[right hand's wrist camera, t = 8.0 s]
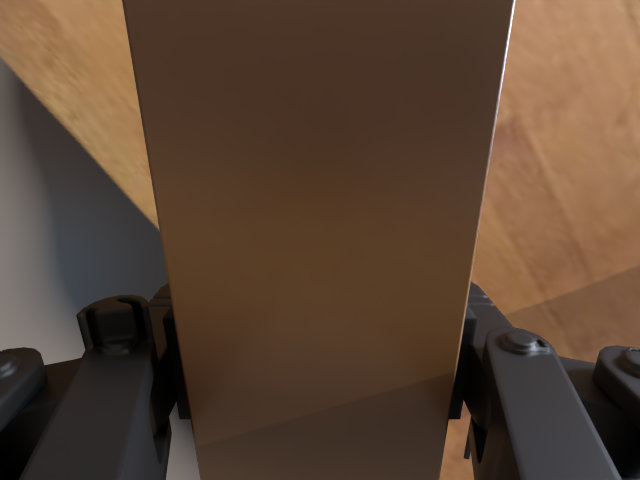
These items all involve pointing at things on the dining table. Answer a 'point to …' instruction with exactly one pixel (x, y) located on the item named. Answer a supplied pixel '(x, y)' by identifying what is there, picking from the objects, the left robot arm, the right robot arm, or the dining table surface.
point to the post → (319, 220)
